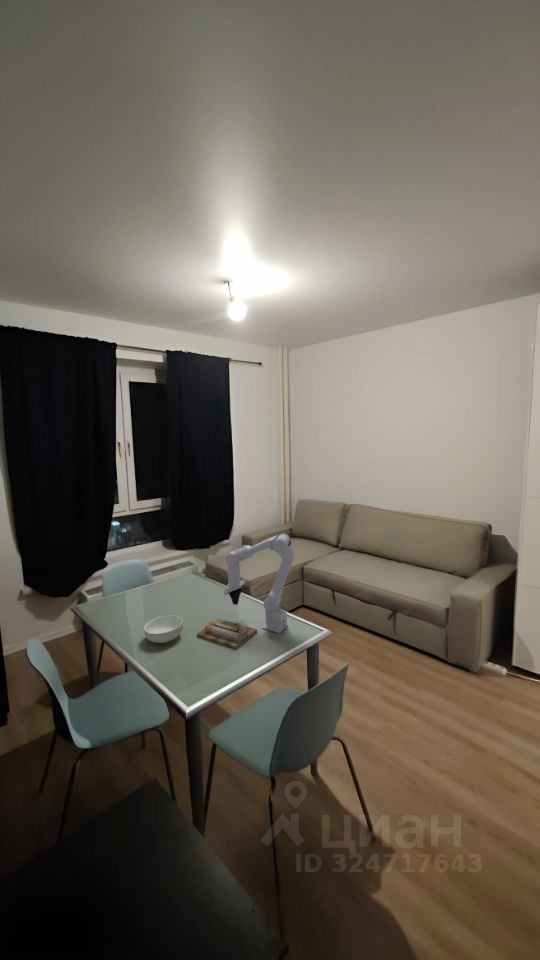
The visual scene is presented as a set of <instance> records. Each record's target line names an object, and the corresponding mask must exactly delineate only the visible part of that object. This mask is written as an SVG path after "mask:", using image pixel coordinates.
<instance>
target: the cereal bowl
mask: <svg viewBox="0 0 540 960" xmlns="http://www.w3.org/2000/svg"><path fill="white" fill-rule="evenodd" d="M183 627H184V621H183V618H182V617H180V616H178V615H174V614H173V615H172V614H171V615H170V614H169V615H168V614H167V615H162V616H157V617H155V618H153V619H150V620H149V621H147V622H146V623H145V624H144V626H143V634H144V636H145V638H146V639H147V640H148V641H149V642H151V643H156V644H157V643H158V644H165V643H169V642H171V641H172V640H175V638H177V637H179V635H180V634H181V633H182V631H183V629H184V628H183Z"/></svg>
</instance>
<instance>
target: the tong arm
mask: <svg viewBox="0 0 540 960" xmlns="http://www.w3.org/2000/svg"><path fill="white" fill-rule="evenodd" d="M208 624H212V625H214V626H216V627H219V628H223V629H226V630H229V631H233V632H236V633H239V634H240V633H241V632H242V629H238V630H237V631H235V630H232V629H231V626H228V625H224V624H221V623H217V622H216V620H211V621H209V622H208Z"/></svg>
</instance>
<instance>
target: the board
mask: <svg viewBox="0 0 540 960" xmlns="http://www.w3.org/2000/svg"><path fill="white" fill-rule="evenodd" d="M215 621H216V622H217V623H221V624H224V625H228V626H231V627H232V626H233V625H234V624H238V625H241V628H240V629H242V631H243V630H245V629H248V636H247V637H246V638H245V639H244V640H242V641H241V642H240V643H237V642H234V641H231V640H228V639H225V638H222V637H219V636H216V635H212V634H208V633H205V627H204V628H203V629H201V630H200V631H198V632H196V637H197V638H200V639H203V640H205V641H209V642H211V643H214V644H218V645H220V646H224V647H227V648H230V649H232V650H235V651H236V650H238V649H239V648H240V647H241V646H242V645H244V644H245V643H246V642H247V641H249V640H250V639H251V638H252V637H253V636H255V635H256V634H257V633H258V629H257V628H253V627H250V626H246V625H243V624H240V623H236V622H233V621H229V620H225V619H222V618H218V619H217V620H215Z"/></svg>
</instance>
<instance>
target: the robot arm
mask: <svg viewBox="0 0 540 960" xmlns="http://www.w3.org/2000/svg"><path fill="white" fill-rule="evenodd" d="M266 549H269V551H275V553H276V554H278V555H279V556H280V558H281V562H280V564H279V568H278V571H277V574H276V575H275V578H274V581H273V585H272V587H271V590H270V591H269V594H268V596H267V598H266V599H264V601H263V608H264V609H265V610H264V611H265V624H264V625H263V626H262V629H263V630H267V631H271V632H274V633H278V634H280V633H281V632H283V631H284V630H285V629H286V628H287V627H288V625H289V624H288V618H287V617H288V614H287V612H286V610H284V609H283V608H282V607H281V604H280V603H281V601H282V599H283V597H282V593H283V589H284V586H285V584H286V580H287V578H288V575H289V573H290V570H291V567H292V564H293V562H294V558H295V553H294V549H293V540H292V539H291V537H290V536H289V535H288V534H286V533H280V534H279V535H274V536H272V537H271V536H270V537H269V538H267V539H264V540H263V541H260V542H259V543H256V544H253V545H249V544H247V545H246V544H244V545H242V547H240V548H236V549H234V550H232V551H230V552H229V553H227V555H226V556H225V563H226V565H227V580H228V581H227V582H228V584H227V585H226V588H225V589H224V590H223V595H224V596H228V595H229V597H230V599H231V601H232V605H235V606H237V605H238V604H239V601H240V596H241V594H242V592H243V588H242V586H245V585H246V580H243V579H241V565H240V564H241V563H240V562H243V561H245V560H247V559H248V560H249V559H250V558H252V557H254V554H256V553H257V552H261V551H264V550H266Z"/></svg>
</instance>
